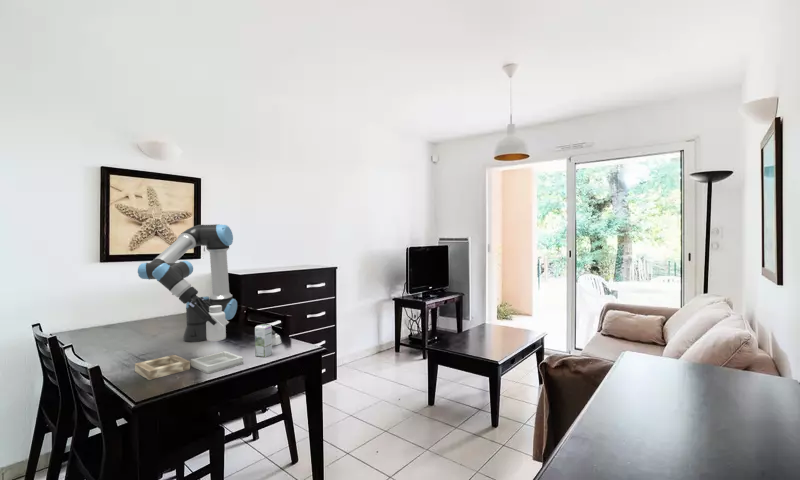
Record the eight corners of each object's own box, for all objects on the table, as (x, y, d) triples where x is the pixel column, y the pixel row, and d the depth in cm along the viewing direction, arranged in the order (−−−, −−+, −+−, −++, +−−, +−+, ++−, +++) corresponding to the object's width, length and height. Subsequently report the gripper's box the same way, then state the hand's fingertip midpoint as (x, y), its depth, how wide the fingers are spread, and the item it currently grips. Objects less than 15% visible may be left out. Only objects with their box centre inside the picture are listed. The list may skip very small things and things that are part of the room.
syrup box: (272, 354, 194) (272, 324, 193) (264, 357, 188) (264, 327, 188) (262, 353, 196) (262, 323, 195) (254, 356, 190) (254, 326, 190)
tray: (225, 357, 189) (225, 351, 189) (243, 363, 179) (243, 357, 179) (190, 366, 177) (190, 359, 177) (207, 373, 167) (207, 366, 167)
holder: (174, 362, 183) (174, 354, 183) (190, 369, 173) (189, 361, 173) (135, 371, 170) (134, 363, 170) (149, 380, 160) (148, 371, 160)
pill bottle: (210, 337, 181) (209, 304, 181) (228, 336, 182) (228, 304, 181) (203, 342, 173) (202, 307, 173) (222, 341, 174) (221, 307, 174)
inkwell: (282, 340, 218) (281, 322, 218) (279, 349, 201) (279, 330, 200) (264, 341, 216) (264, 323, 216) (260, 351, 199) (260, 331, 198)
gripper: (186, 294, 185) (223, 327, 188) (169, 302, 164) (211, 338, 167) (198, 283, 186) (235, 315, 189) (182, 288, 165) (224, 325, 168)
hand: (224, 326), depth 178 cm, fingers closed on pill bottle, 8 cm apart
